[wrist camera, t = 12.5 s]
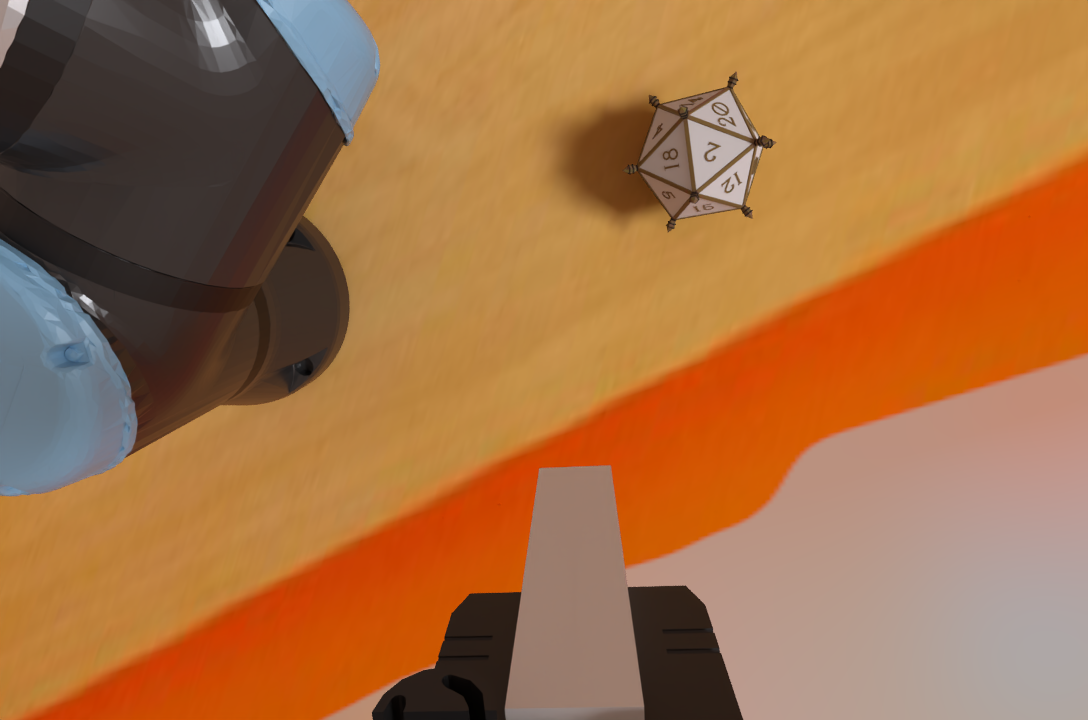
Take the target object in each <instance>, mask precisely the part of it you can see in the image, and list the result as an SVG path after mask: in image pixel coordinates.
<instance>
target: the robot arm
mask: <svg viewBox="0 0 1088 720" xmlns="http://www.w3.org/2000/svg"><path fill="white" fill-rule="evenodd" d="M379 70H380V59H379V53H378V48H377V45H376V43H375V41H374V38H373V36H372V34H371V32H370V30H369V29H368V27H367V26H366V24H365V22H364V21H363V20H362V18H361V17H360V16H359V14H358V13H357V12H356V11H355V9H354V8H353V7H352V6H351V4H350V3H349V2H348V1H347V0H0V496H19V495H31V494H41V493H46V492H50V491H53V490H57V489H59V488H62V487H65V486H67V485H70V484H72V483H75V482H77V481H80V480H82V479H85V478H87V477H90V476H93V475H97V474H101V473H104V472H105V471H107V470H109V469H112V468H114V467H116V465H117V464H119V463H121V462H122V461H123V460H124V458H126V457H128V456H129V455H131V454H133V453H135V452H137V451H138V450H140V449H142V448H144V447H146V446H147V445H149V444H151V443H153V442H155V441H156V440H158V439H160V438H162V437H164V436H165V435H167V434H169V433H171V432H173V431H174V430H176V429H178V428H180V427H182V426H183V425H185V424H187V423H189V422H191V421H192V420H194V419H196V418H198V417H200V416H201V415H203V414H205V413H207V412H209V411H210V410H212V409H214V408H216V407H218V406H219V405H257V404H264V403H268V402H272V401H276V400H279V399H282V398H284V397H287V396H289V395H291V394H293V393H295V392H296V391H298V390H300V389H301V388H303V387H304V386H306V385H307V384H309V383H311V382H312V381H313V380H315V379H316V378H317V377H318V376H320V375H321V374H322V373H323V372H324V371H325V370H326V369H327V368H328V366H329V365H330V364H331V363H332V361H333V360H334V358H335V357H336V355H337V353H338V352H339V350H340V348H341V345H342V343H343V340H344V338H345V334H346V331H347V326H348V320H349V293H348V287H347V282H346V278H345V275H344V272H343V269H342V267H341V264H340V262H339V260H338V258H337V256H336V254H335V252H334V250H333V248H332V247H331V245H330V244H329V242H328V241H327V240H326V238H325V237H324V236H323V235H322V233H321V232H320V231H319V230H318V229H317V228H316V227H315V226H314V225H313V224H312V223H311V222H310V221H309V220H308V219H307V218H305V217H304V216H303V214H304V213H305V211H306V209H307V207H308V206H309V204H310V202H311V201H312V199H313V197H314V195H315V194H316V192H317V190H318V188H319V187H320V185H321V183H322V181H323V180H324V178H325V176H326V174H327V173H328V171H329V169H330V167H331V166H332V164H333V162H334V160H335V159H336V157H337V155H338V153H339V152H340V150H341V148H342V146H343V145H345V146H348V145H349V144H350V143H351V141H352V139H353V136H354V132H353V127H354V125H355V123H356V121H357V120H358V118H359V116H360V114H361V112H362V110H363V108H364V106H365V104H366V102H367V100H368V98H369V96H370V94H371V92H372V90H373V88H374V86H375V84H376V82H377V79H378V76H379ZM438 657H439V659H438V661H437V663H436V666H435V669H428V670H423V671H421V672H419V673H416V674H414V675H412V676H409V677H407V678H405V679H402V680H401V681H400V682H398V683H397V684H396V685H395V686H393V687H392V688H391V689H390V690H388V691H387V692H386V693H385V694H384V695H383V696H382V698H381V699H380V701H379V702H378V704H377V705H376V707H375V709H374V710H373V712H372V717H373V720H743V718H742V715H741V712H740V709H739V706H738V703H737V700H736V697H735V694H734V691H733V688H732V685H731V682H730V679H729V676H728V673H727V670H726V667H725V664H724V661H723V658H722V655H721V653H720V651H719V646H718V643H717V639H716V636H715V633H713V627H712V624H711V621H710V618H709V615H708V613H707V609H706V606H705V605H704V603H703V602H702V601H700V599H698V597H697V596H696V595H695V594H693V593H692V592H691V591H690V590H689V589H688V588H687V587H686V586H655V587H627V580H626V573H625V565H624V558H623V551H622V544H621V537H620V529H619V522H618V515H617V508H616V501H615V493H614V486H613V479H612V472H611V465H610V466H584V467H559V468H539V475H538V482H537V489H536V496H535V502H534V509H533V516H532V523H531V530H530V537H529V544H528V551H527V558H526V565H525V572H524V579H523V586H522V592H512V593H474V594H469V596H468V597H467V598H466V599H465V600H464V601H463V602H462V603H461V604H460V605H459V606H458V607H457V608H456V609H455V611H454V612H453V613H452V614H451V618H450V621H449V624H448V627H447V630H446V634H445V640H444V641H443V643H442V646H441V650H440V653H439V656H438Z"/></svg>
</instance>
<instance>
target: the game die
mask: <svg viewBox="0 0 1088 720" xmlns="http://www.w3.org/2000/svg"><path fill="white" fill-rule="evenodd" d="M737 81H738V79H737V72H735V73H734V74H733V75H732V76H731V77H729V81H728V86H727V87H725V88H721V89H717V90H713V91H709V92H705V93H702V94H698V95H694V96H690V97H686V98H682V99H678V100H674V101H670V102H666V103H662V104H660V103H659V100H658V99H657V97H656V96H651V95H649V101H650V102H649V104H650V103H651V104H652V106H654V107H655V108H656V110H655V113H654V116H653V119H652V122H651V125H650V128H649V131H648V133H647V136H646V139H645V142H644V145H643V148H642V151H641V154H640V157H639V160H638V163H637V165H636V166H635V165H633V164H632V165H628V166H627V167H626V168H625V169H624V170H623V171H624V172H627V173H628V174H630V173H634V172H636V171H638V173H639V174H640V176H641V177H642V178H643V180H644V181H645V182H646V184H647V185H648V187H649V188H650V189H651V191H652V192H653V194H654V195H655V196H656V198H657V199H658V200H659V202H660V203H661V205H662V206H663V207H664V209H665V210H666V211H667V213H668V214H669V216H670V217H671V219H670V221H668V224H667V225H666V226H667V230H668V232H669V231H671V230H672V229H674V228H675V227H674V226H675V225H676V224H675V221H676V220H678V219H684V218H690V217H696V216H702V215H707V214H713V213H719V212H725V211H731V210H737V209H741V210H742V212H743V214H744V215H745V216H746V217H749V218H752V211H753V210H750V209H749V208H750V207H749V208H748V207H747V206H746V205H745V204H746V201H747V198H748V195H749V192H750V188H751V185H752V182H753V179H754V176H755V173H756V169H757V166H758V163H759V160H760V157H761V153H762V150H763V147H764V148H766V149H767V148H771V147H772V146H773V145H774V144H775V143H776V142H775V141H772V139H769V138H767V137H766V136H762V137H760V136H759V134H758V133H757V131H756V129H755V127H754V126H753V124H752V122H751V120H750V119H749V117H748V115H747V113H746V112H745V110H744V108H743V106H742V105H741V103H740V101H739V100H738V98H737V96H736V94H735V93H734V91H733V87H734V86H735V85H736V82H737ZM752 219H753V218H752Z"/></svg>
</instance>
